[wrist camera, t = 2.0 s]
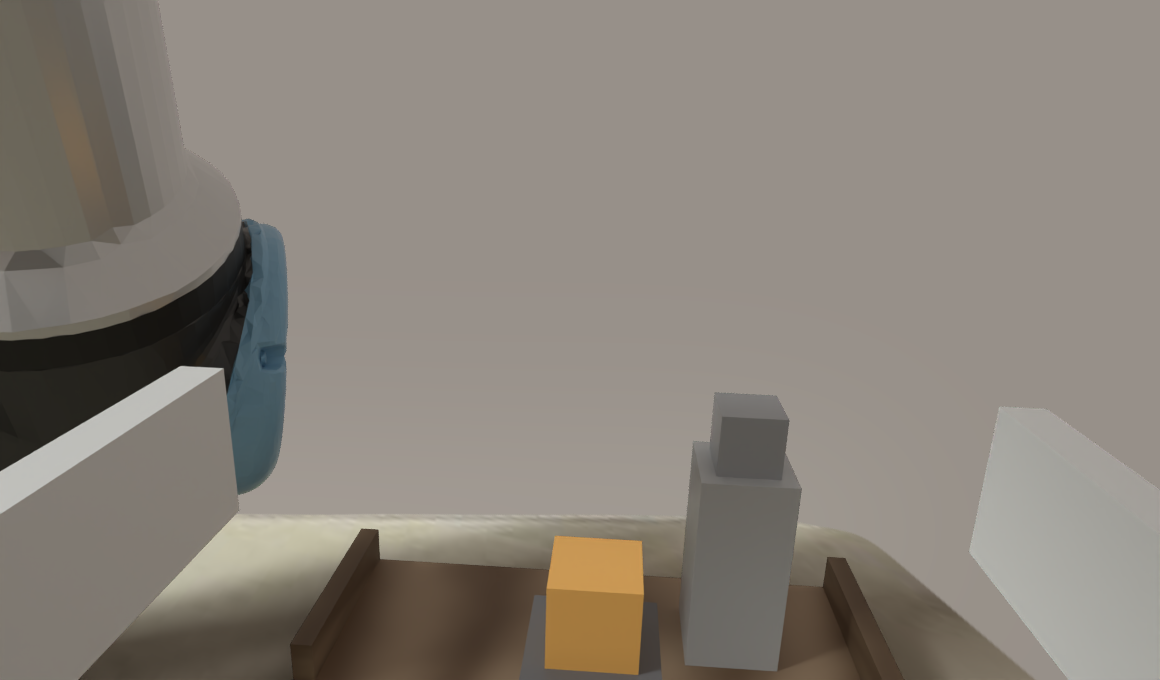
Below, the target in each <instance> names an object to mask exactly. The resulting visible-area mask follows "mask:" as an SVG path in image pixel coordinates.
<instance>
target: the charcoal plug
mask: <svg viewBox="0 0 1160 680" xmlns="http://www.w3.org/2000/svg"><path fill="white" fill-rule="evenodd" d="M643 600H644V585H643V559H642V541H633V540H616V539H600V538H583V537H567V536H555V539H554V545H553V551H552V558H551V564H550V570H549V576H548V583H547V590H546V596H542V595H534V600H533V606H532V611H531V617H530V622H529V628H528V633H527V639H526V644H525V650H524V655H523V661H522V666H521V671H520V677H519V680H662V671H661V655H660V640H659V624H658V609H657V603H652V602H643Z"/></svg>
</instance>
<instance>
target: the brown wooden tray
mask: <svg viewBox="0 0 1160 680" xmlns="http://www.w3.org/2000/svg"><path fill="white" fill-rule="evenodd" d="M548 576H549V570H543V569H527V568H511V567H495V566H479V565H463V564H447V563H431V562H415V561H399V560H383V559H380V552H379V532H378V530H375V529H361V530H360V532H359V534H358V535H357V537H356V538H355V540H354V542H353V543H352V545H351V547H350V548H349V550H348V551H347V553H346V555H345V556H344V558H343V559H342V561H341V563H340V564H339V566H338V568H337V569H336V571H335V572H334V574H333V576H332V577H331V579H330V581H329V582H328V584H327V585H326V587H325V589H324V590H323V592H322V593H321V595H320V597H319V598H318V600H317V602H316V603H315V605H314V606H313V608H312V610H311V611H310V613H309V615H308V616H307V618H306V619H305V621H304V623H303V624H302V626H301V627H300V629H299V631H298V632H297V634H296V636H295V637H294V639H293V640H292V642H291V644H290V648H291V658H292V669H293V679H294V680H519V677H520V671H521V666H522V661H523V655H524V650H525V644H526V639H527V633H528V628H529V622H530V617H531V611H532V606H533V600H534V595H542V596H546V590H547V583H548ZM643 585H644V600H643V602H652V603H657V609H658V624H659V640H660V655H661V671H662V680H904V679H903V677H902V674H901V672H900V670H899V668H898V666H897V664H896V662H895V660H894V658H893V656H892V654H891V652H890V650H889V648H888V646H887V643H886V641H885V639H884V637H883V635H882V633H881V631H880V629H879V627H878V625H877V623H876V621H875V619H874V617H873V615H872V612H871V610H870V608H869V606H868V604H867V602H866V600H865V598H864V596H863V594H862V592H861V590H860V588H859V586H858V584H857V581H856V579H855V577H854V575H853V573H852V571H851V569H850V567H849V565H848V563H847V561H846V559H845V558H835V557H827V563H826V570H825V577H824V583H823V587H814V586H798V585H789V587H788V595H787V602H786V609H785V617H784V624H783V631H782V639H781V646H780V654H779V661H778V668H777V671H763V670H748V669H733V668H718V667H703V666H689V665H685V661H684V651H683V642H682V633H681V623H680V614H679V600H680V588H681V578H670V577H654V576H643Z"/></svg>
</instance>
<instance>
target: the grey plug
mask: <svg viewBox="0 0 1160 680" xmlns="http://www.w3.org/2000/svg"><path fill="white" fill-rule="evenodd" d="M788 426H789V419H788V417H787V415H786V413H785V411H784V409H783V407H782V405H781V403H780V401H779V399H778V397H777V396H773V395H772V396H771V395H754V394H734V393H715V395H714V406H713V416H712V427H711V437H710V442H697V441H693V449H692V460H691V473H690V484H689V495H688V507H687V518H686V530H685V542H684V553H683V565H682V576H681V588H680V600H679V614H680V623H681V633H682V642H683V651H684V661H685V665H689V666H703V667H718V668H733V669H748V670H763V671H777V668H778V661H779V654H780V646H781V639H782V631H783V624H784V617H785V609H786V602H787V595H788V587H789V580H790V573H791V565H792V558H793V550H794V543H795V536H796V528H797V521H798V514H799V506H800V498H801V491H802V488H801V486H800V484H799V482H798V480H797V477H796V475H795V473H794V471H793V469H792V466H791V464H790V462H789V460H788V458H787V456H786V454H785V451H786V442H787V435H788Z"/></svg>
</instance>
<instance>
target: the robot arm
mask: <svg viewBox="0 0 1160 680" xmlns="http://www.w3.org/2000/svg"><path fill="white" fill-rule="evenodd" d="M287 328H288V292H287V268H286V256H285V246H284V242H283V238H282V235H281V233H280V232H279V231H278V230H277V229H276V228H275V227H273V226H270V225H267V224H259V223H258V222H256V221H254V220H251V219H245V220H242V219H241V211H240V205H239V201H238V199H237V196H236V194H235V191H234V189H233V188H232V186H231V184H230V182H229V181H228V180H227V179H226V177H224V175H223V174H222V173H221V172H220V171H219V170H218V169H217V168H215V167H214V166H213V165H212V164H210V163H209V162H208V161H206V160H205V159H203V158H201V157H200V156H198V155H196V154H195V153H193V152H191V151H189V150H187V149H186V148H184V144H183V138H182V133H181V127H180V121H179V116H178V110H177V105H176V99H175V93H174V88H173V82H172V77H171V71H170V65H169V60H168V54H167V48H166V43H165V37H164V32H163V26H162V21H161V15H160V9H159V4H158V0H0V680H78V679H79V678H80V677H81V676H82V675H83V674H84V673H85V672H86V671H87V670H88V669H89V668H90V667H91V665H92V664H93V663H94V662H95V661H96V660H97V659H98V658H99V657H100V656H101V655H102V654H103V653H104V652H105V651H106V650H107V649H108V648H109V647H110V646H111V644H112V643H113V642H114V641H115V640H116V639H117V638H118V637H119V636H120V635H121V634H122V633H123V632H124V631H125V630H126V629H127V628H128V627H129V626H130V625H131V623H132V622H133V621H134V620H135V619H136V618H137V617H138V616H139V615H140V614H141V613H142V612H143V611H144V610H145V609H146V608H147V607H148V606H149V605H150V604H151V602H152V601H153V600H154V599H155V598H156V597H157V596H158V595H159V594H160V593H161V592H162V591H163V590H164V589H165V588H166V587H167V586H168V585H169V584H170V583H171V581H172V580H173V579H174V578H175V577H176V576H177V575H178V574H179V573H180V572H181V571H182V570H183V569H184V568H185V567H186V566H187V565H188V564H189V563H190V562H191V561H192V559H193V558H194V557H195V556H196V555H197V554H198V553H199V552H200V551H201V550H202V549H203V548H204V547H205V546H206V545H207V544H208V543H209V542H210V541H211V540H212V538H213V537H214V536H215V535H216V534H217V533H218V532H219V531H220V530H221V529H222V528H223V527H224V526H225V525H226V524H227V523H228V522H229V521H230V520H231V519H232V517H233V516H234V515H235V514H236V513H237V512H238V511H239V502H238V495H240V494H244V493H247V492H250V491H252V490H253V489H255V488H257V487H258V486H260V485H261V484H262V483H263V482H264V481H265V480H266V479H267V478H268V477H269V476H270V474H271V473H272V471H273V469H274V468H275V465H276V463H277V460H278V456H279V452H280V446H281V440H282V432H283V423H284V410H285V396H286V395H285V394H286V361H285V358H284V355H285V353H286V336H287ZM969 553H970V554H971V555H972V557H973V558H974V559H975V560H976V561H977V563H978V564H979V565H980V567H981V568H982V569H983V571H984V572H985V573H986V574H987V576H988V577H989V578H990V580H991V581H992V582H993V584H994V585H995V586H996V587H997V589H998V590H999V591H1000V592H1001V594H1002V595H1003V596H1004V597H1005V599H1006V600H1007V602H1008V603H1009V604H1010V606H1011V607H1012V608H1013V609H1014V611H1015V612H1016V613H1017V614H1018V616H1019V617H1020V618H1021V620H1022V621H1023V622H1024V624H1025V625H1026V626H1027V627H1028V629H1029V630H1030V631H1031V633H1033V635H1034V636H1035V638H1036V639H1037V640H1038V642H1039V643H1040V644H1041V645H1042V647H1043V648H1044V649H1045V651H1046V652H1047V653H1048V654H1049V656H1050V657H1051V658H1052V660H1053V661H1054V662H1055V663H1056V665H1057V666H1058V667H1059V669H1060V670H1061V671H1062V672H1063V673H1064V675H1065V676H1066V678H1067V679H1068V680H1160V489H1158V488H1157V487H1156V486H1154V485H1153V484H1151V483H1150V482H1149V481H1147V480H1146V479H1144V478H1143V477H1142V476H1140V475H1139V474H1137V473H1136V472H1134V471H1133V470H1132V469H1130V468H1129V467H1128V466H1126V465H1125V464H1123V463H1122V462H1120V461H1119V460H1117V459H1116V458H1115V457H1113V456H1112V455H1111V454H1109V453H1108V452H1106V451H1105V450H1104V449H1102V448H1101V447H1099V446H1098V445H1097V444H1095V443H1094V442H1092V441H1091V440H1090V439H1088V438H1087V437H1085V436H1084V435H1083V434H1081V433H1080V432H1078V431H1077V430H1076V429H1074V428H1073V427H1071V426H1070V425H1069V424H1067V423H1066V422H1064V421H1063V420H1062V419H1060V418H1059V417H1057V416H1056V415H1055V414H1053V413H1052V412H1050V411H1049V410H1048V409H1037V408H1017V407H999V411H998V416H997V421H996V426H995V430H994V435H993V440H992V445H991V449H990V455H989V459H988V464H987V469H986V474H985V479H984V483H983V488H982V493H981V497H980V502H979V507H978V512H977V517H976V521H975V526H974V531H973V536H972V541H971V545H970V550H969Z"/></svg>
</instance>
